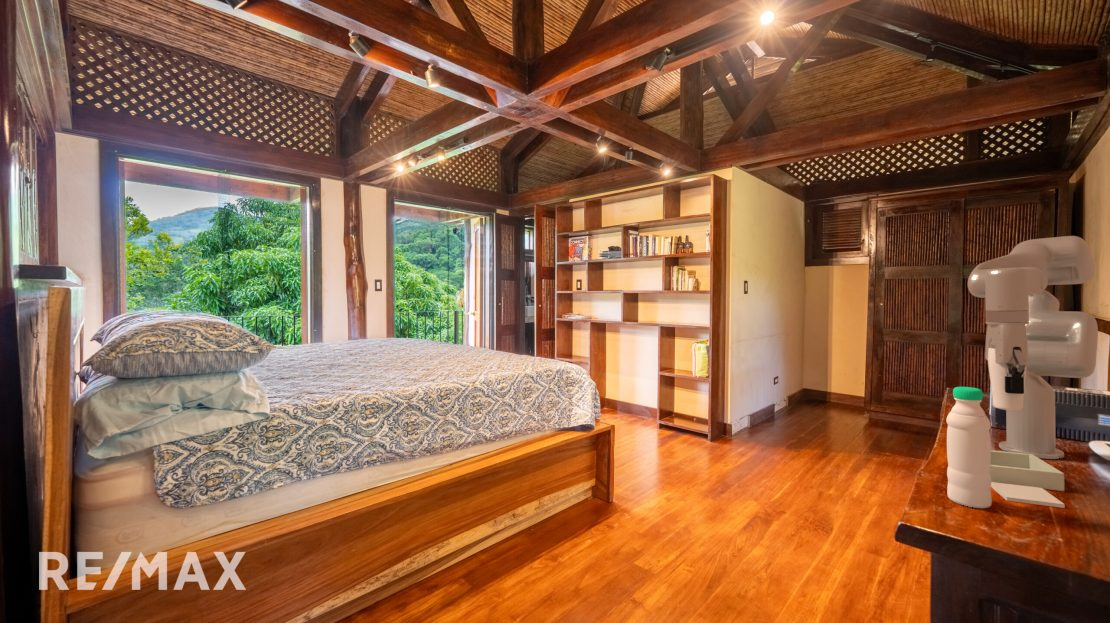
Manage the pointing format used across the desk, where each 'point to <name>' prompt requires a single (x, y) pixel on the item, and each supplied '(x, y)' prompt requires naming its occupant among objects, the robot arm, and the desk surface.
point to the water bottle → (968, 450)
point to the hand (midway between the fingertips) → (1007, 389)
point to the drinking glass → (1003, 385)
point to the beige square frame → (1024, 471)
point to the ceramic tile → (1026, 494)
